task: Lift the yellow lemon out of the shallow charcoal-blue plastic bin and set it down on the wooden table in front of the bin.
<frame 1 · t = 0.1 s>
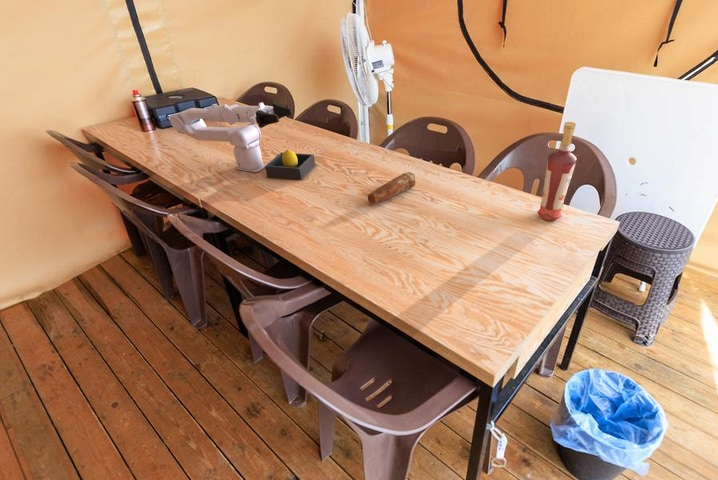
hand: (284, 115, 137), 22 cm above the table, tool horizontal, fingers open, 7 cm apart
brown cylinder: (392, 196, 134), on the table
lemon: (291, 170, 152), resting on bin
bin: (292, 171, 152), on the table
liquor: (548, 218, 121), on the table
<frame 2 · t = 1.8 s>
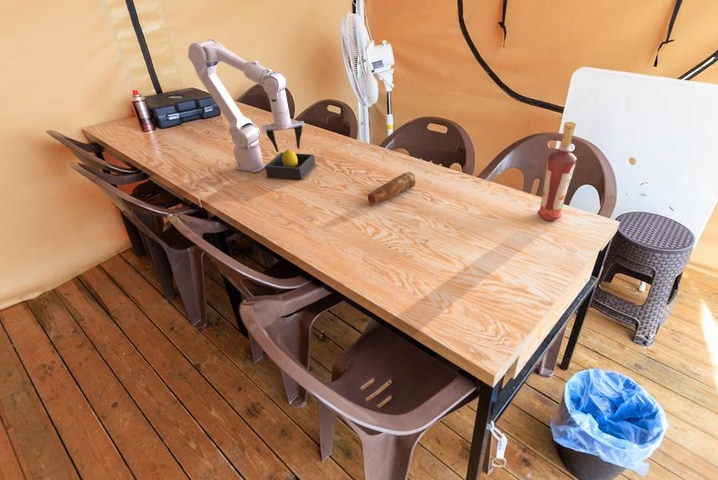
hand: (287, 149, 147), 9 cm above the table, tool pointing down, fingers open, 7 cm apart
nothing on the table moved.
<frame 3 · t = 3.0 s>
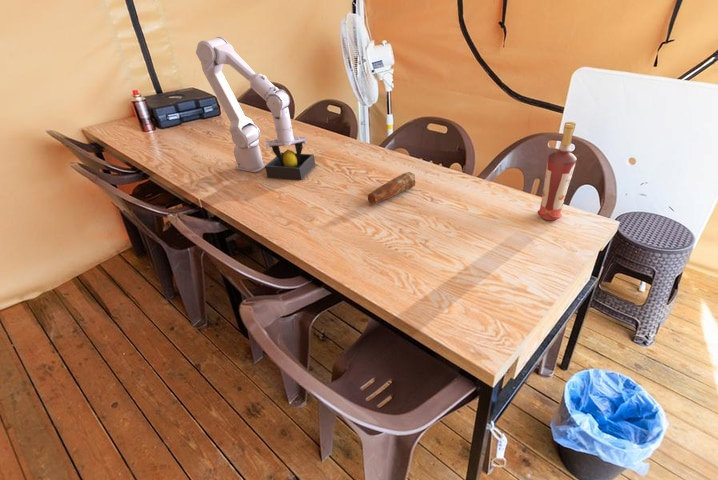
hand: (290, 164, 151), 3 cm above the table, tool pointing down, fingers closed on lemon, 5 cm apart
lemon: (291, 170, 152), resting on bin, touching gripper
everything else where it was.
when the fingers open (2 cm above the table, at t = 7.9 s): lemon stays where it is, on the table.
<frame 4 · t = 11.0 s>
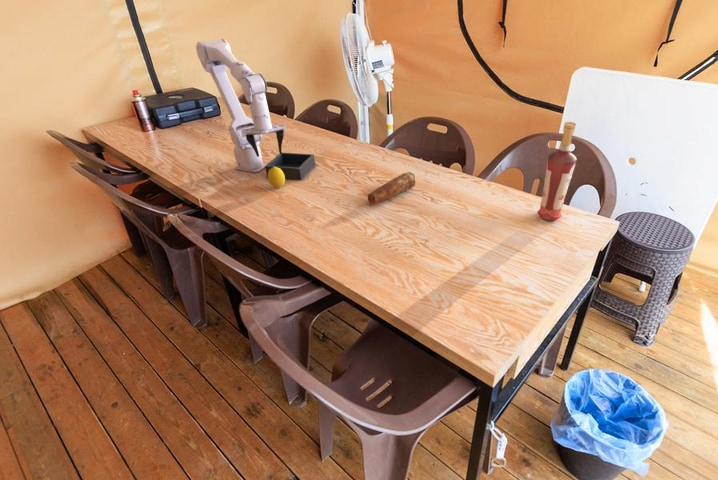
hand: (269, 154, 141), 9 cm above the table, tool pointing down, fingers open, 7 cm apart
lemon: (278, 188, 141), on the table
everything else where it was.
at the end: lemon inside the target area (0.1 cm from its centre), on the table; lemon touching table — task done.
